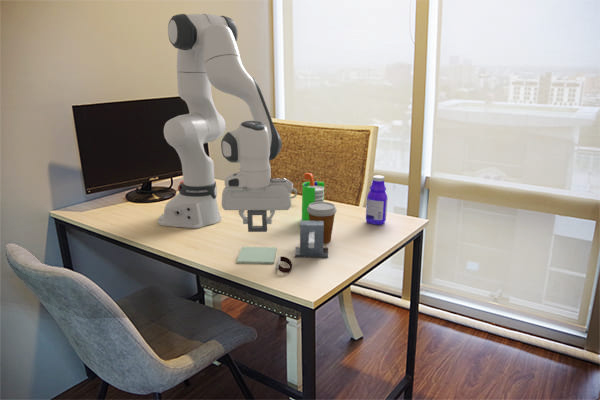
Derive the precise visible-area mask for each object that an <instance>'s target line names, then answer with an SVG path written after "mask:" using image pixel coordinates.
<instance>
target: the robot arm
mask: <svg viewBox="0 0 600 400" xmlns="http://www.w3.org/2000/svg"><path fill="white" fill-rule="evenodd" d="M238 33H239V32H238V26H237V24H236V22H235V20H234V19H232V18H231V17H228V16H225V15H220V16H219V15H216V14H211V13H210V14H209V13H201V14H200V13H193V14H191V13H190V14H186V13H179V14H175V15H173V16H172V17H171V18H170V20H169V21H168V27H167V35H168V39H169V42H170V44H171V45H172V47H174V49H177V53H176V54H177V55H176V77H177V79H176V80H177V93H178V96H179V97H180V99H181V100H182V101H184V102H185V103H186V105H187V108H188V111H189V113H186V114H185V113H184V114H181V115H177V116H175V117H173V118H170V119H169V120H167V121H166V122H165V124H164V126H163V136H164V139H165V140H166V142H167V144H168V145H169V146H170V147H173V149H175V151H176V153H177V154H178V157H179V160H180V163H181V169H182V180H181V181H180V182H179V185H178V187H177V191H178V193H177V194H176V195H175V196H174V197H172V198H171V199H170V200H169V201H168V202H167V203H166V204H165V207H164V211H163V214H161V215H160V216H159V217H158V219H157V224H158V225H159V226H164V227H165V226H166V227H176V228H187V229H199V228H202V227H205V226H210V225H214V224H216V223H218V222H220V221H221V220H222V217H221V213H220V210H219V207H218V202H217V196H218V189H217V188H218V187H217V182H216V181H215V179H216V178H215V164H214V163H215V162H214V160H213V159H212V158H211V157H210V156H208V155H207V153H206V151H205V147H204V144H207V143H211V142H214V141H216V140H218V139H219V138H221V137H222V136H223V135H224V136H223V137H222V140H221V141H220V145H221V146H220V147H221V154H222V156H223V158H225V160H226V161H228V162H229V163H232V164H239V165H240V166H239V167H240V168H239V171H238V172H235V173H231V174H229V175H227V177H225V179H224V188H223V190H222V193H221V208H222V209H223V210H224V211H238V215H239V216H240V218H241V219H242V224H243V225H248V218H247V216H246V215H245V211H248V210H267V211H269V214H270V215H269V216H267V218H266V221H267V222H266V224H267V225H272V223H273V220H272V219H273V217H274V215H275V213H276V211H289V210H290V209H291V207H292V199H291V197H292V196H291V195H290V192H291V191H292V184H291V182H292V181H290V180H289V179H287V178H285V177H284V178H276V177H275V178H274V177H271V176H272V174H271V173H272V171H271V169H272V168H271V167H272V166H271V164H270V161H273V160H274V159H275V158H277V157H278V155H279V153H280V152H281V150H282V147H283V143H282V139H281V138H282V137H281V136H280V133H279V132H278V130H277V128H276V126H275V125H274V122H273V120H272V117H271V114H270V112H269V109H268V106H267V103H266V101H265V97H264V95H263V93H262V91H261V89H260V86H259V83H258V82H257V80H256V79H255V77H252V76H251V75H250V74H249V72H248V71H247V70H246V68H245V67H244V64H243V62H242V58H241V54H240V53H241V52H240V50H239V47H238V44H237V41H238ZM212 87H214V88H215V89H216V90H218V91H220V92H222V93H225V94H228V95H231V96H234V97H237V98H239V99H241V100H242V101H244V102H245V103H246V104H247V106H248V108H249V111H250V113H251V116H252V119H253V120H246V121H242V122H241V123H240V124H239V126H238V127H237V128H236V129H234V130H231V131H227V132H226V130H227V129H226V128H227V127H226V126H227V125H226V120H225V118H224V117H223V116H222V114H221V113H219V111H218V109H217V108H216V105H215V102H214V98H213V95H212ZM225 132H226V133H225ZM286 181H288V182H286ZM292 192H293V191H292Z"/></svg>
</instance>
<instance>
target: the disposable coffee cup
mask: <svg viewBox="0 0 600 400" xmlns="http://www.w3.org/2000/svg"><path fill="white" fill-rule="evenodd" d="M307 211H308V213H309V221H324V235H323V245H325V244H329V243H330V242H331V240H332V235H333V229H334V226H333V225H334V222H335V214H336V212H337V208H336V205H335V204H334V203H332V202H328V201H327V202H326V201H324V202H314V203H311V204H309V206H308V208H307Z"/></svg>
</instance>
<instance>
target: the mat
mask: <svg viewBox="0 0 600 400" xmlns="http://www.w3.org/2000/svg"><path fill="white" fill-rule="evenodd" d="M277 248H278V247H276V246H273V247H270V246H269V247H267V246H263V247H262V246H241V248H240V251H239V254H238V256H237V258H236V262H235V263H236V264H254V265H255V264H257V265H258V264H261V265H264V264H265V265H266V264H267V265H274V263H275V259H276V255H277V251H278V250H277Z"/></svg>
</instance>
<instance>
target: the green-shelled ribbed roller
mask: <svg viewBox="0 0 600 400" xmlns="http://www.w3.org/2000/svg"><path fill="white" fill-rule="evenodd" d="M314 177H315V176H314V175H313V173H311V172H305V173H304V178H303V179H304V180H309V181H307V182H303V183H302V186H301V187H302V189H301V190H302V192H301V221H309V213H308V211H307V208H308V206H309V204H311V203H314V202H325V182H323V181H315V178H314Z"/></svg>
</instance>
